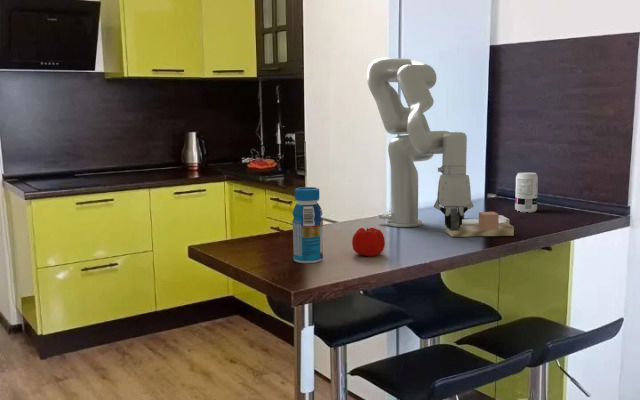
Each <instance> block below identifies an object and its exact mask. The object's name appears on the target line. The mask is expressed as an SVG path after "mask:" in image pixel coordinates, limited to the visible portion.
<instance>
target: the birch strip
mask: <svg viewBox="0 0 640 400" xmlns="http://www.w3.org/2000/svg"><path fill="white" fill-rule="evenodd" d="M449 214H450V216H451V227H450V228H447V227H446V226H445V233H446V234H447V235H449V236H450V237H451V238H455V237H456V238H457V237H458V238H459V237H460V238H461V237H463V238H464V237H465V238H467V237H500V236H501V237H505V236H506V237H509V236H510V237H511V236H514V234H515V233H514V230H515V226H513V225H512V224H511V223H509V224H508V223H506V222H502V226H498V230H482V229H481V228H479V226H467V227H460V228H459V215H458V214H457V213H449ZM514 237H515V236H514Z"/></svg>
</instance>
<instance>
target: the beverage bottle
mask: <svg viewBox="0 0 640 400" xmlns="http://www.w3.org/2000/svg"><path fill="white" fill-rule="evenodd" d="M294 200H295V202H296V203H295V206H294V207H293V209H292V216H293V219H292V222H291V223H292V224H291V226H292V240H293V241H292V244H293V245H292V246H293V250H292V251H293V254H292V255H293V261H294V262H296V263H300V264H315V263H316V264H317V263H320V262H322V261H323V259H324V254H323V252H324V251H323V250H324V249H323V247H324V246H323V238H324V237H323V226H324V220H323V219H322V218H323V217H322V215H323V210H322V208H321V206H320V204H319V201H320V188H318V187H314V186H312V187H311V186H303V187H297V188H296V187H295V188H294Z"/></svg>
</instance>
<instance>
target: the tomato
mask: <svg viewBox="0 0 640 400" xmlns="http://www.w3.org/2000/svg"><path fill="white" fill-rule="evenodd" d="M351 243H352V245H351V247H352V250H353V251H354V252H355V253H356V254H357V255H361V256H366V257H369V258H370V257H375V256H378V255H380V254H382V253H383V251H384V249H385V244H386V241H385V236H384V233H383V232H382V230H380V229H378V228H376V227H369V228H368V227H366V229H365V227H360V228H359V229H358V230H356V231H355V234H353V236H352V240H351Z"/></svg>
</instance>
